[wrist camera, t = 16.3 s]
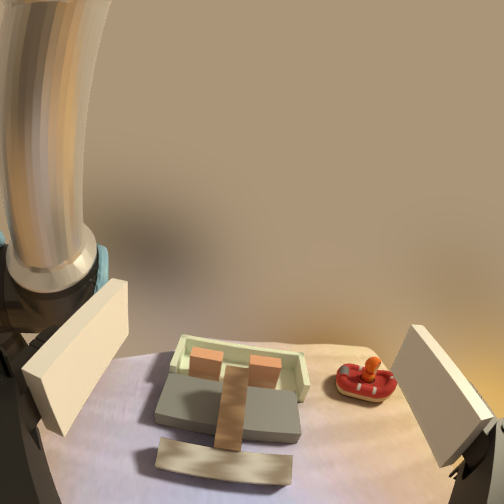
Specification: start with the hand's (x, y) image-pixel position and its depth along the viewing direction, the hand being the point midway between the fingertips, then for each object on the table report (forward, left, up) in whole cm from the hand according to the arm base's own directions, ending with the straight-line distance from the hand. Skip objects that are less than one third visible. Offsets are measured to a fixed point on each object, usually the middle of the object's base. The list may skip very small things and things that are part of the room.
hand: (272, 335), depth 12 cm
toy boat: (+24, +28, -28) cm, 46 cm away
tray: (+1, +28, -28) cm, 40 cm away
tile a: (-5, +25, -25) cm, 36 cm away
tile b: (+5, +26, -25) cm, 36 cm away
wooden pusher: (0, +7, -27) cm, 28 cm away
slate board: (0, +19, -28) cm, 34 cm away
